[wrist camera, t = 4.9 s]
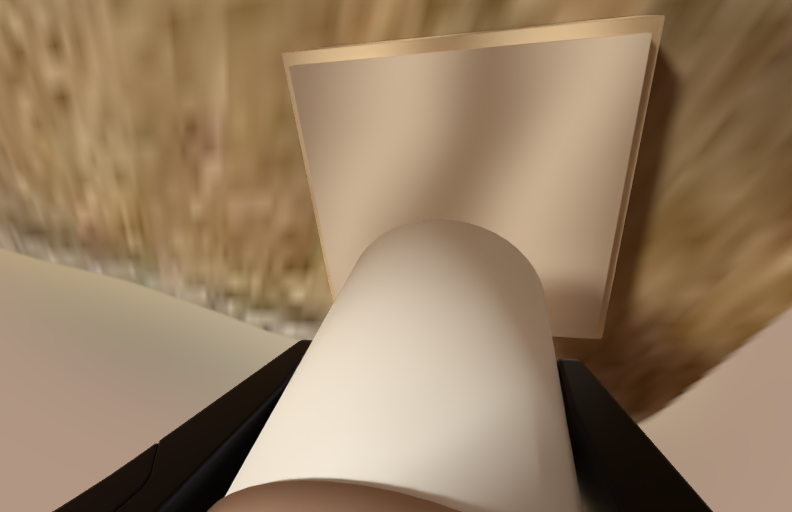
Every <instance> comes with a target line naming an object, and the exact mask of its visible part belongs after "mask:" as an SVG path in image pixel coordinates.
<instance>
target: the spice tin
mask: <svg viewBox="0 0 792 512" xmlns="http://www.w3.org/2000/svg"><path fill="white" fill-rule="evenodd" d="M207 512H583V509H582V503H581V497H580V492H579V486H578V481H577V475H576V469H575V464H574V458H573V452H572V447H571V441H570V435H569V430H568V424H567V419H566V413H565V407H564V402H563V396H562V390H561V385H560V379H559V373H558V368H557V362H556V357H555V351H554V345H553V340H552V334H551V328H550V323H549V317H548V311H547V306H546V300H545V295H544V290H543V287H542V284H541V281H540V278H539V276H538V274H537V273H536V271H535V269H534V267H533V266H532V265H531V263H530V262H529V260H528V259H527V258H526V257H525V256H524V255H523V254H522V253H521V252H520V251H519V250H518V249H517V248H516V247H515V246H514V245H512V244H511V243H510V242H509V241H507V240H506V239H504V238H502V237H501V236H499V235H497V234H496V233H494V232H492V231H489V230H487V229H485V228H483V227H480V226H477V225H473V224H470V223H466V222H461V221H455V220H443V219H434V220H422V221H417V222H411V223H408V224H405V225H402V226H399V227H396V228H394V229H392V230H390V231H388V232H386V233H385V234H383V235H381V236H380V237H378V238H377V239H376V240H375V241H373V242H372V243H371V244H370V245H369V246H368V247H367V248H366V249H365V251H364V252H363V253H362V254H361V256H360V257H359V259H358V261H357V263H356V264H355V266H354V268H353V270H352V271H351V273H350V275H349V277H348V278H347V280H346V282H345V284H344V286H343V287H342V289H341V291H340V293H339V294H338V296H337V298H336V300H335V302H334V303H333V305H332V307H331V309H330V310H329V312H328V314H327V316H326V318H325V319H324V321H323V323H322V325H321V326H320V328H319V330H318V332H317V334H316V335H315V337H314V339H313V341H312V342H311V344H310V346H309V348H308V350H307V351H306V353H305V355H304V357H303V358H302V360H301V362H300V364H299V366H298V367H297V369H296V371H295V373H294V374H293V376H292V378H291V380H290V382H289V383H288V385H287V387H286V389H285V390H284V392H283V394H282V396H281V398H280V399H279V401H278V403H277V405H276V406H275V408H274V410H273V412H272V414H271V415H270V417H269V419H268V421H267V422H266V424H265V426H264V428H263V430H262V431H261V433H260V435H259V437H258V438H257V440H256V442H255V444H254V446H253V447H252V449H251V451H250V453H249V454H248V456H247V458H246V460H245V462H244V463H243V465H242V467H241V469H240V470H239V472H238V474H237V476H236V478H235V479H234V481H233V483H232V485H231V486H230V488H229V490H228V492H227V494H226V495H225V497H224V498H222V499H220V500H219V501H217V502H216V503H215V504H214V505H213V506H212V507H211V508H210V509H209V510H208V511H207Z"/></svg>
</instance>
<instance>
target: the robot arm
mask: <svg viewBox="0 0 792 512" xmlns="http://www.w3.org/2000/svg"><path fill="white" fill-rule="evenodd" d="M312 341H313V340H301V341H299V342H297V343H296V344H295V345H293V346H292V347H291V348H289V349H288V350H286V351H285V352H283V353H282V354H281V355H279V356H278V357H276V358H275V359H274V360H272V361H271V362H269V363H268V364H267V365H265V366H264V367H263V368H261V369H260V370H258V371H257V372H255V373H254V374H253V375H251V376H250V377H248V378H247V379H246V380H244V381H243V382H241V383H240V384H238V385H237V386H236V387H234V388H233V389H232V390H230V391H229V392H227V393H226V394H224V395H223V396H222V397H221V398H219V399H217V400H216V401H215V402H213V403H212V404H210V405H209V406H208V407H206V408H205V409H203V410H202V411H201V412H199V413H198V414H196V415H195V416H194V417H192V418H191V419H189V420H188V421H187V422H185V423H184V424H182V425H181V426H179V427H178V428H177V429H175V430H174V431H172V432H171V433H170V434H168V435H167V436H165V437H164V438H163V439H161V440H160V441H159V444H154V445H153V446H151V447H150V448H148V449H147V450H146V451H144V452H143V453H141V454H140V455H138V456H137V457H136V458H134V459H133V460H131V461H130V462H128V463H127V464H125V465H124V466H123V467H121V468H120V469H118V470H117V471H115V472H114V473H112V474H111V475H109V476H108V477H106V478H105V479H103V480H102V481H100V482H99V483H97V484H96V485H94V486H92V487H91V488H89V489H88V490H86V491H85V492H83V493H82V494H80V495H79V496H77V497H76V498H74V499H72V500H71V501H69V502H67V503H66V504H64V505H63V506H61V507H59V508H58V509H56V510H55V511H53V512H207V511H208V510H209V509H210V508H211V507H212V506H213V505H214V504H215V503H216V502H217V501H219V500H220V499H222V498H224V497H225V495H226V494H227V492H228V490H229V488H230V486H231V485H232V483H233V481H234V479H235V478H236V476H237V474H238V472H239V470H240V469H241V467H242V465H243V463H244V462H245V460H246V458H247V456H248V454H249V453H250V451H251V449H252V447H253V446H254V444H255V442H256V440H257V438H258V437H259V435H260V433H261V431H262V430H263V428H264V426H265V424H266V422H267V421H268V419H269V417H270V415H271V414H272V412H273V410H274V408H275V406H276V405H277V403H278V401H279V399H280V398H281V396H282V394H283V392H284V390H285V389H286V387H287V385H288V383H289V382H290V380H291V378H292V376H293V374H294V373H295V371H296V369H297V367H298V366H299V364H300V362H301V360H302V358H303V357H304V355H305V353H306V351H307V350H308V348H309V346H310V344H311V342H312ZM557 368H558V373H559V379H560V385H561V390H562V396H563V402H564V407H565V413H566V419H567V424H568V430H569V435H570V441H571V447H572V452H573V458H574V464H575V469H576V475H577V481H578V486H579V492H580V497H581V503H582V509H583V512H713V511H712V510H711V509H710V508H709V507H708V506H707V504H706V503H705V502H704V501H703V500H702V499H701V497H700V496H699V495H698V494H697V493H696V492H695V491H694V490H693V488H692V487H691V486H690V485H689V484H688V482H687V481H686V480H685V479H684V478H683V477H682V476H681V474H680V473H679V472H678V471H677V470H676V469H675V468H674V466H673V465H672V464H671V463H670V462H669V461H668V460H667V458H666V457H665V456H664V455H663V454H662V453H661V452H660V450H659V449H658V448H657V447H656V446H655V445H654V443H653V442H652V441H651V440H650V439H649V438H648V437H647V436H646V435H645V433H644V432H643V431H642V430H641V429H640V427H639V426H638V425H637V424H636V423H635V422H634V421H633V419H632V418H631V417H630V416H629V415H628V414H627V413H626V411H625V410H624V409H623V408H622V407H621V406H620V404H619V403H618V402H617V401H616V400H615V399H614V398H613V396H612V395H611V394H610V393H609V392H608V391H607V390H606V388H605V387H604V386H603V385H602V384H601V383H600V382H599V380H598V379H597V378H596V377H595V376H594V375H593V374H592V372H591V371H590V370H589V369H588V368H587V367H586V366H585V364H584V363H583V362H582V361H580V360H578V359H566V358H560V359H559V360H558V361H557Z"/></svg>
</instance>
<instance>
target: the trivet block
mask: <svg viewBox="0 0 792 512" xmlns="http://www.w3.org/2000/svg"><path fill="white" fill-rule="evenodd" d="M664 19H665V15H649V16H630V17H621V18H611V19H601V20H591V21H581V22H571V23H561V24H551V25H541V26H531V27H521V28H511V29H501V30H491V31H482V32H472V33H462V34H452V35H442V36H432V37H422V38H412V39H402V40H392V41H382V42H372V43H362V44H353V45H343V46H333V47H323V48H313V49H305V50H299V51H293V52H288V53H282V57H283V62H284V67H285V72H286V77H287V81H288V86H289V91H290V96H291V101H292V106H293V110H294V115H295V120H296V125H297V130H298V135H299V140H300V144H301V149H302V154H303V159H304V164H305V169H306V173H307V178H308V183H309V188H310V193H311V198H312V203H313V207H314V212H315V217H316V222H317V227H318V232H319V237H320V241H321V246H322V251H323V256H324V261H325V266H326V270H327V275H328V280H329V285H330V290H331V295H332V300H333V303H334V302H335V300H336V298H337V296H338V294H339V293H340V291H341V289H342V287H343V286H344V284H345V282H346V280H347V278H348V277H349V275H350V273H351V271H352V270H353V268H354V266H355V264H356V263H357V261H358V259H359V257H360V256H361V254H362V253H363V252H364V251H365V249H366V248H367V247H368V246H369V245H370V244H371V243H372V242H373V241H375V240H376V239H377V238H378V237H380V236H381V235H383V234H385V233H386V232H388V231H390V230H392V229H394V228H396V227H399V226H402V225H405V224H408V223H411V222H417V221H422V220H434V219H443V220H455V221H461V222H466V223H470V224H473V225H477V226H480V227H483V228H485V229H487V230H489V231H492V232H494V233H496V234H497V235H499V236H501V237H502V238H504V239H506V240H507V241H509V242H510V243H511V244H512V245H514V246H515V247H516V248H517V249H518V250H519V251H520V252H521V253H522V254H523V255H524V256H525V257H526V258H527V259H528V260H529V262H530V263H531V265H532V266H533V267H534V269H535V271H536V273H537V274H538V276H539V278H540V281H541V284H542V287H543V290H544V295H545V300H546V306H547V311H548V317H549V323H550V328H551V334H552V336H553V337H570V338H587V339H602V335H603V330H604V325H605V320H606V315H607V310H608V305H609V300H610V295H611V289H612V284H613V279H614V274H615V269H616V264H617V259H618V254H619V249H620V243H621V238H622V233H623V228H624V223H625V218H626V213H627V208H628V203H629V197H630V192H631V187H632V182H633V177H634V172H635V167H636V162H637V157H638V151H639V146H640V141H641V136H642V131H643V126H644V121H645V116H646V111H647V105H648V100H649V95H650V90H651V85H652V80H653V75H654V70H655V65H656V59H657V54H658V49H659V44H660V39H661V34H662V29H663V24H664Z"/></svg>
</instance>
